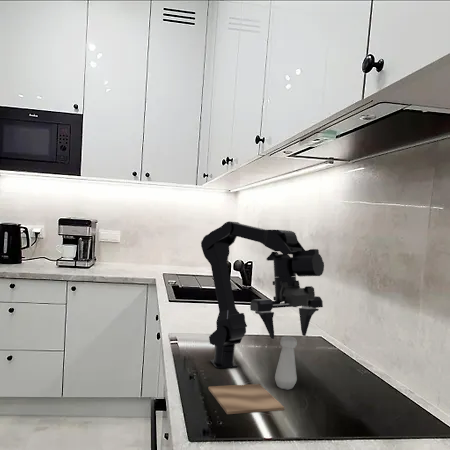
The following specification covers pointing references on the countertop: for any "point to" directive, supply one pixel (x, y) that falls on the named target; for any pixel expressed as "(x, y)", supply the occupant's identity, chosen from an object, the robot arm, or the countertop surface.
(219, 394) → the walnut board
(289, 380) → the salt shaker
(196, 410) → the countertop surface
